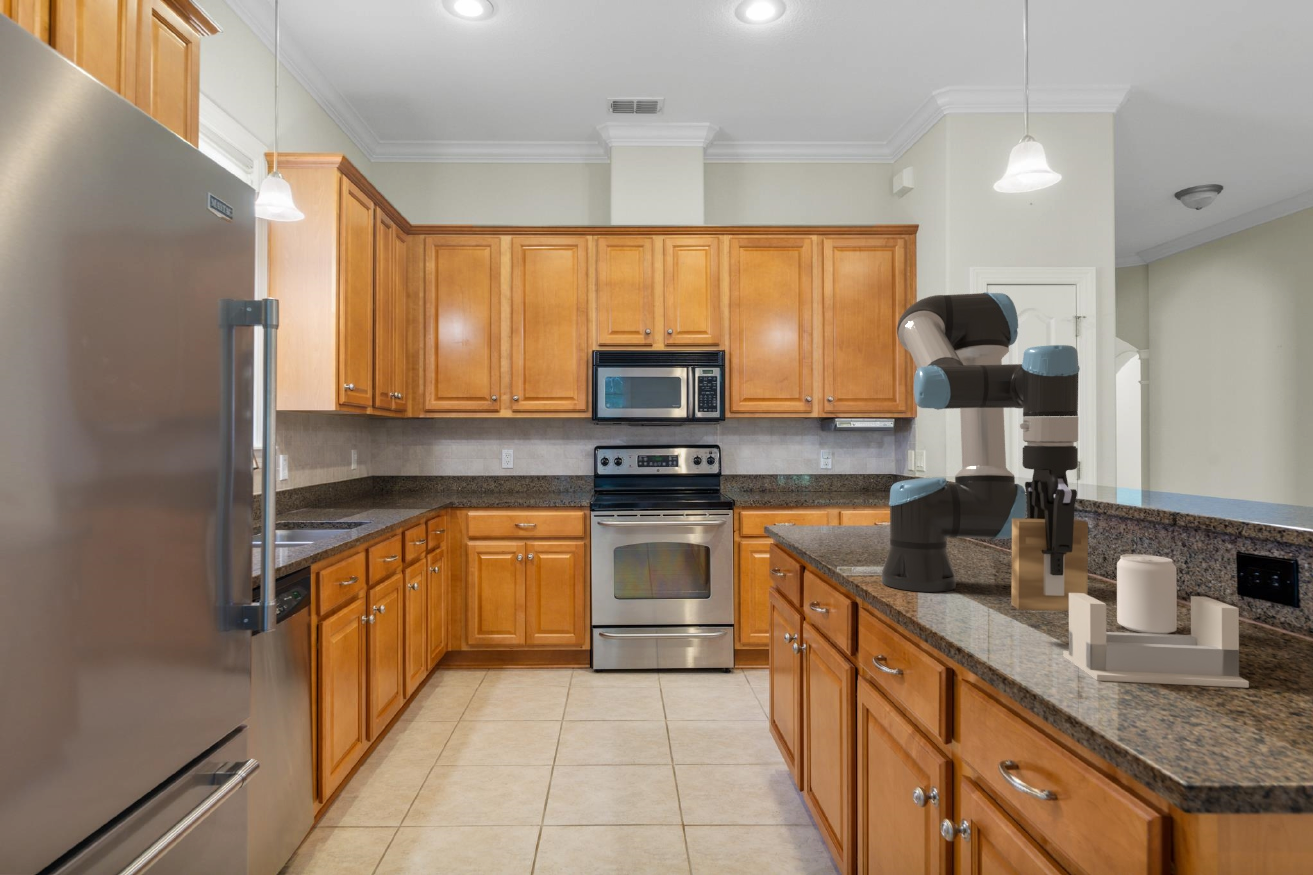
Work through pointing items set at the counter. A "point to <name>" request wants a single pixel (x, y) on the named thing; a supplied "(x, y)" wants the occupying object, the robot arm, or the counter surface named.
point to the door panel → (1031, 566)
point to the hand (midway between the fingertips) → (1048, 591)
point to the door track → (1157, 647)
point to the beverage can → (1147, 594)
